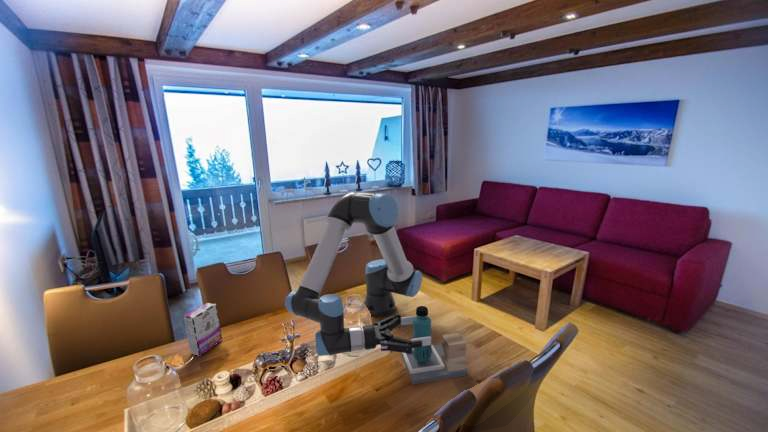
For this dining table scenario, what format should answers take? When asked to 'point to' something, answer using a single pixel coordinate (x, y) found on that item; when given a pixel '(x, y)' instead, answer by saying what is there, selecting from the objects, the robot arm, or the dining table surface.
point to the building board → (429, 367)
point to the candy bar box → (203, 328)
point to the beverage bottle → (422, 333)
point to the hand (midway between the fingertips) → (424, 329)
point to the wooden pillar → (453, 352)
